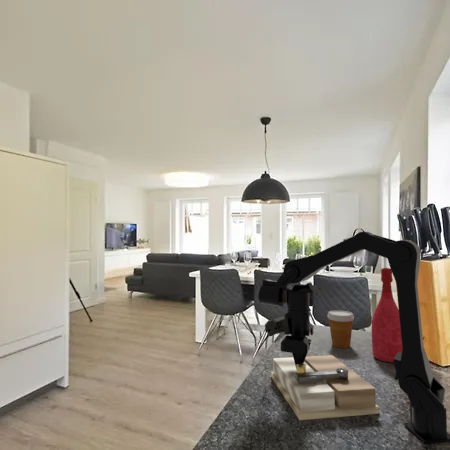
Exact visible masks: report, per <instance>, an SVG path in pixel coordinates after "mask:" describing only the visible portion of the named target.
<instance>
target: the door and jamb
mask: <svg viewBox="0 0 450 450" xmlns="http://www.w3.org/2000/svg"><path fill="white" fill-rule="evenodd" d="M303 364H305V365H306V372H320V371H336V369H338V368H343V369H346V370H348V379H346V380H343V379H324V380H316V377H315V376H304V377H299V381H297V380H296V378H295V373H297V369H296V366H295V362H294V358H293V356H291V357H276V358H275V357H273V358H272V368H273V369H272V371H270V378H271V380H273V382H274V384H275V385H276V386H277V389H279V392H280V393H281V394H282V396H283V397H284V399H285V400H286V402H287V404H288V405H289V407H290V408H291V410H292V411H293V412H294V414H295V416H296V417H297V419H298V420H299V421H305V420H307V421H308V420H318V419H320V420H321V419H329V418H330V419H331V418H332V419H333V418H342V417H354V416H367V415H377V414H380V407H379V405H377V403H376V402H377V401H376V399H377V397H376V388H375V387H374V386H373V385H372V384H371V383H370V382H368V381H366V380H365V379H364V378H363V377H361V375H359V374H358V373H356V372H355V371H354V370H352V369H351V368H350V367H348V366H347V365H345V364H344V363H343V362H342V361H341V360H339V359H337V357H335V356H334V355H332V354H328V355H311V356H307V355H306V358H305V361H304V363H303Z"/></svg>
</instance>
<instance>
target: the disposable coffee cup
mask: <svg viewBox="0 0 450 450" xmlns="http://www.w3.org/2000/svg"><path fill="white" fill-rule="evenodd" d="M326 317H327V319H328V323H329V324H328V325H329V331H330V337H331V344H332V346H333V347H335V348H339V349H347V348H351V341H352V340H351V339H352V333H353V323H354V319H355V317H354V313H352V312H350V311H345V310H330V311H328V314H327V316H326Z"/></svg>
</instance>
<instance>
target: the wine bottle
mask: <svg viewBox="0 0 450 450" xmlns="http://www.w3.org/2000/svg"><path fill="white" fill-rule="evenodd" d="M380 273H381V274H380V275H381V276H380V280H381V282H382V285H381V294H380V297H379V301H378V303H377V306H375V310H374V312H373V315H372V319H371V346H372V355H373V357H374V358H375V359H377V360H379V361H382V362H384V363H385V362H386V363H391V364H394V361H393V360H394V358H395V356H396V355H397V353H398V352H401V353H402V338H401V328H400V317H399V306H397V304H396V301H395V299H394V296H393V291H392V283H393V274H392V271H391V269H390V267H382V268H381V269H380Z"/></svg>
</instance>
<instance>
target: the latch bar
mask: <svg viewBox="0 0 450 450" xmlns="http://www.w3.org/2000/svg"><path fill="white" fill-rule="evenodd" d="M296 366H297V373H295V378H296V380H297V381H299V377H304V376H315V377H316V380H324V379H343V380H346V379H348V370H346V369H343V368H338V369H336V371H320V372H306V365H305V364H302V363H298V364H296Z"/></svg>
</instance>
